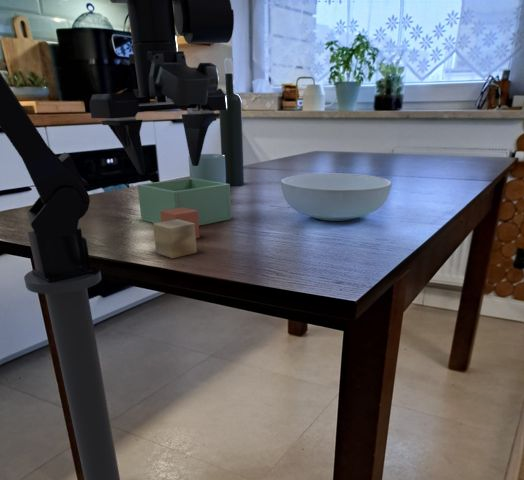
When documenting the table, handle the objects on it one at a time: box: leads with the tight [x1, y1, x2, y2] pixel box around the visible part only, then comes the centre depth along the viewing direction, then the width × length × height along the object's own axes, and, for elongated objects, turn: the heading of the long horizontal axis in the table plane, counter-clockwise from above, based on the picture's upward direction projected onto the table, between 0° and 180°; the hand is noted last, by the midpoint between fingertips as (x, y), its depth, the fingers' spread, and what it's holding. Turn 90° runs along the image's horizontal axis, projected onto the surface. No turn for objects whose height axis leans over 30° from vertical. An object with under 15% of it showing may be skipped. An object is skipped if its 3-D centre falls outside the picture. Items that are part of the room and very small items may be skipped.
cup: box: [188, 153, 226, 183], centre depth 115 cm, size 8×8×10 cm
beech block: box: [152, 219, 198, 259], centre depth 78 cm, size 4×4×4 cm
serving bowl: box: [280, 172, 393, 222], centre depth 100 cm, size 21×21×7 cm
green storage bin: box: [136, 177, 232, 227], centre depth 100 cm, size 13×13×7 cm
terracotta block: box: [160, 207, 201, 239], centre depth 87 cm, size 4×4×4 cm
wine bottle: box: [218, 57, 245, 187], centre depth 134 cm, size 6×6×30 cm
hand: (169, 169), depth 74 cm, fingers open, 9 cm apart
